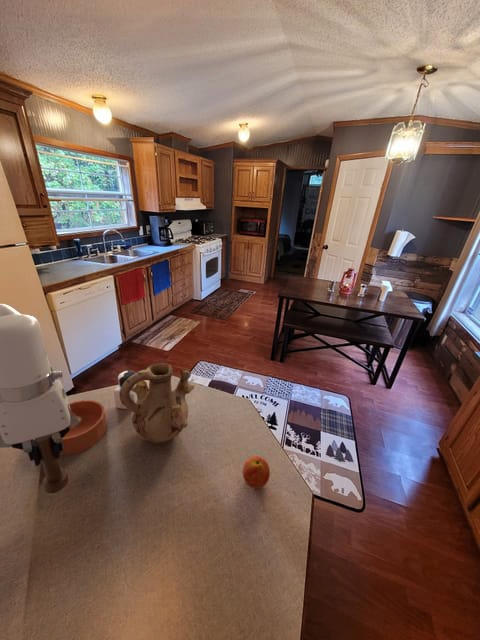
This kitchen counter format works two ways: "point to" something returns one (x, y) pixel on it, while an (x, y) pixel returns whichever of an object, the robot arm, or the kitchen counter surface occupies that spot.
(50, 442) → the pestle
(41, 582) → the kitchen counter surface
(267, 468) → the fruit
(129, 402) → the ceramic vessel
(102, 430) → the bowl
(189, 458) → the kitchen counter surface
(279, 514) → the kitchen counter surface
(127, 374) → the medicine bottle
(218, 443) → the kitchen counter surface
